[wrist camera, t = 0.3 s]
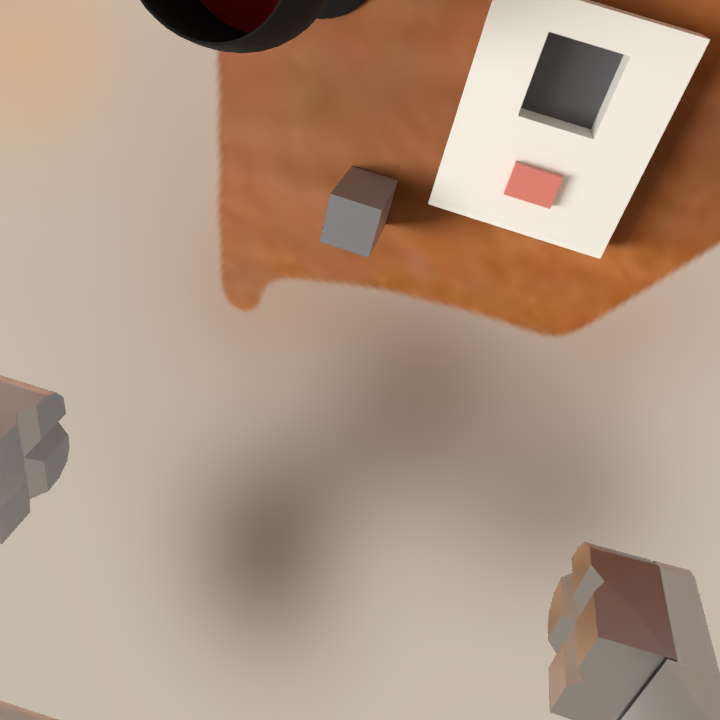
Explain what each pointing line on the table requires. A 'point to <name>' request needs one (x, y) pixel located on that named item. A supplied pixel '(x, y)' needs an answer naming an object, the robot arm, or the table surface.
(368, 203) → the plug
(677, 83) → the socket plate
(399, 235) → the table surface
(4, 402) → the robot arm
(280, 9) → the wine glass
